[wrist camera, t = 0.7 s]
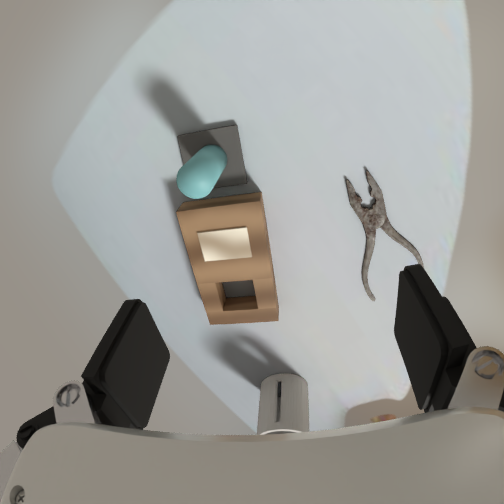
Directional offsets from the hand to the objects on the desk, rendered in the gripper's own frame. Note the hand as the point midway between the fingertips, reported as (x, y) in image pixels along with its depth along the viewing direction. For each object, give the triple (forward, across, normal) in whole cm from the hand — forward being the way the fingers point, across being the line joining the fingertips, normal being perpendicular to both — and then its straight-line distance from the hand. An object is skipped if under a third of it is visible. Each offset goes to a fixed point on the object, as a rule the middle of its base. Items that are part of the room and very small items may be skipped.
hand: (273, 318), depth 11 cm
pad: (+28, +7, -1) cm, 29 cm away
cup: (+29, +5, +43) cm, 52 cm away
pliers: (+28, -11, +14) cm, 34 cm away
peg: (+27, +7, -1) cm, 28 cm away
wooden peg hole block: (+28, +8, +13) cm, 32 cm away
